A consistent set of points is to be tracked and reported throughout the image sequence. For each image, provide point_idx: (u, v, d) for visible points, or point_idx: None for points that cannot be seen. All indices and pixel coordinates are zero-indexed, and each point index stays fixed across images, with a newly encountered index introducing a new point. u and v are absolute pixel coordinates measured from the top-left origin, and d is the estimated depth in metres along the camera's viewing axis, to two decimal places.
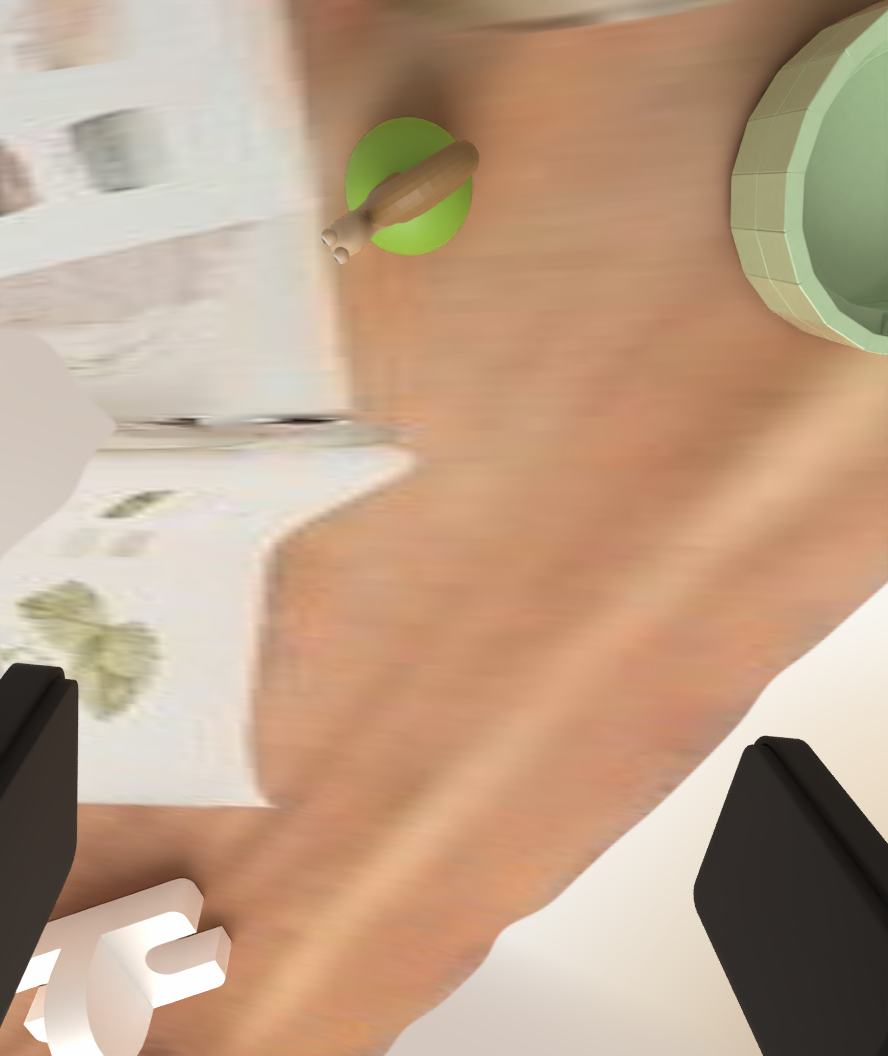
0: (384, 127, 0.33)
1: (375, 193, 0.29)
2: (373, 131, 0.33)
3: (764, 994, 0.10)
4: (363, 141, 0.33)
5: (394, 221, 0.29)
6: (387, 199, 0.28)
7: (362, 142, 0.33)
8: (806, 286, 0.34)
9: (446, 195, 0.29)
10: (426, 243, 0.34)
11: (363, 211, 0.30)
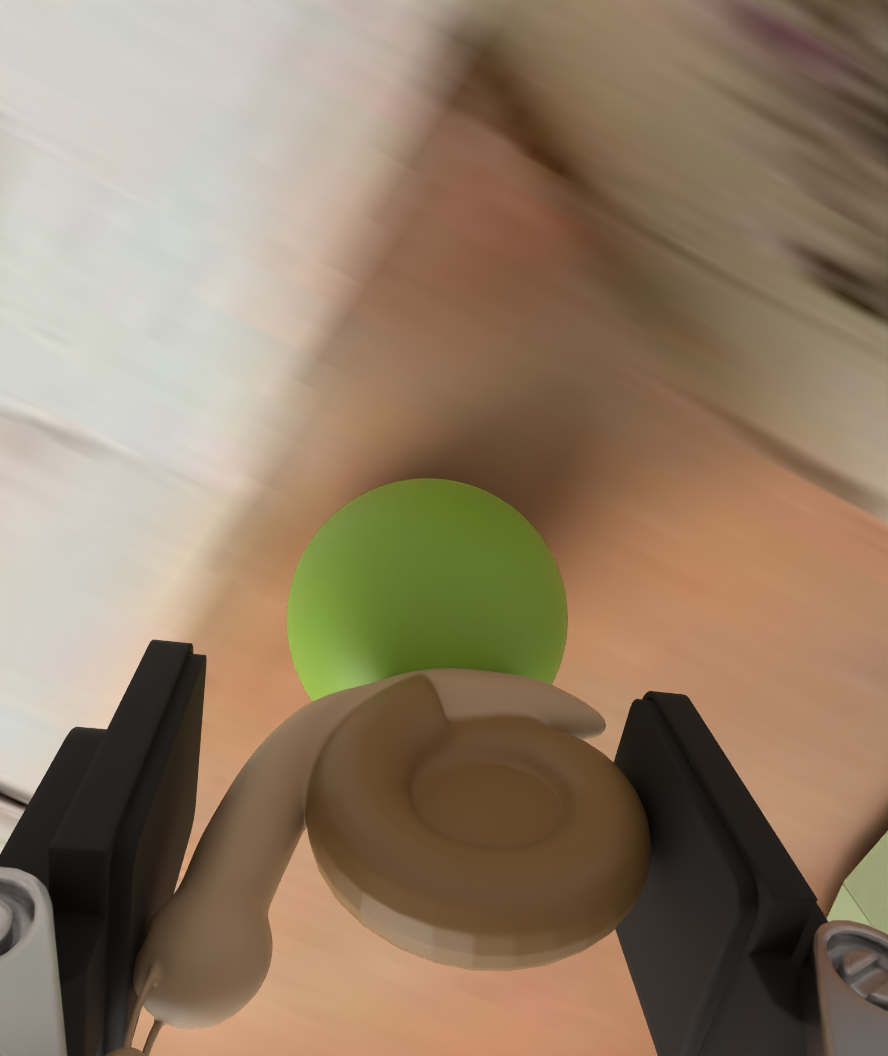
0: (458, 523, 0.14)
1: (356, 834, 0.10)
2: (431, 510, 0.14)
3: (637, 931, 0.11)
4: (399, 515, 0.14)
5: None
6: (378, 902, 0.09)
7: (396, 516, 0.14)
8: None
9: None
10: None
11: (304, 783, 0.11)
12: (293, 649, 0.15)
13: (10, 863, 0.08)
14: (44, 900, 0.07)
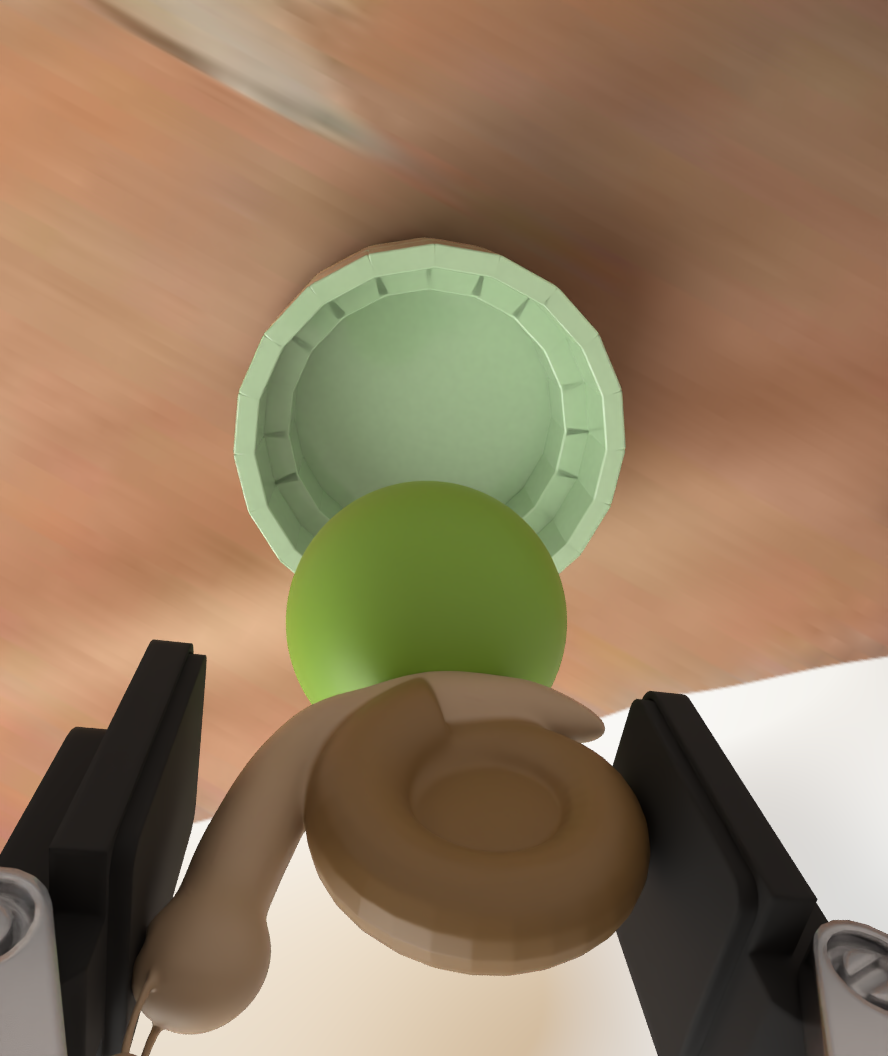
0: (457, 525, 0.14)
1: (355, 838, 0.10)
2: (430, 513, 0.14)
3: (637, 931, 0.11)
4: (398, 518, 0.14)
5: None
6: (376, 906, 0.09)
7: (395, 518, 0.14)
8: (241, 462, 0.30)
9: None
10: None
11: (303, 787, 0.11)
12: (292, 652, 0.15)
13: (10, 863, 0.08)
14: (44, 900, 0.07)
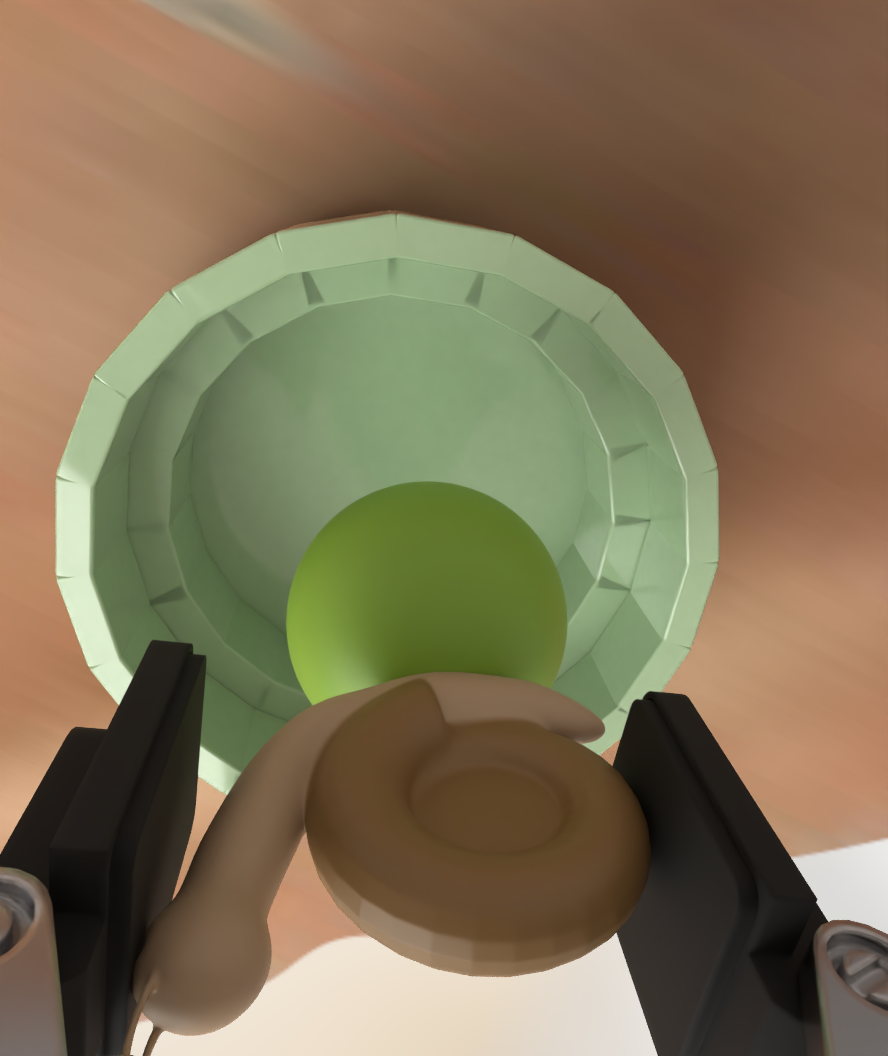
0: (457, 526, 0.14)
1: (355, 839, 0.10)
2: (430, 514, 0.14)
3: (637, 930, 0.11)
4: (399, 519, 0.14)
5: None
6: (376, 908, 0.09)
7: (395, 519, 0.14)
8: (69, 589, 0.17)
9: None
10: None
11: (303, 788, 0.11)
12: (293, 652, 0.15)
13: (10, 863, 0.08)
14: (44, 900, 0.07)
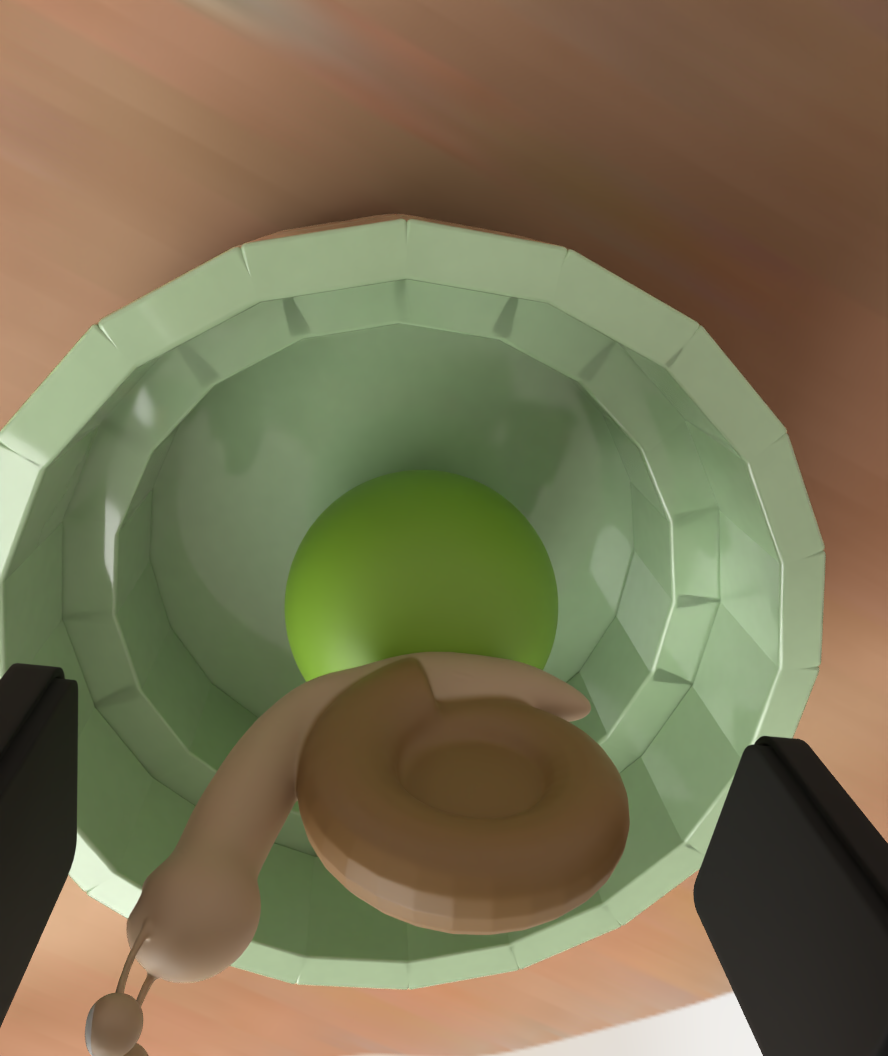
0: (449, 511, 0.14)
1: (343, 803, 0.10)
2: (424, 499, 0.14)
3: (764, 994, 0.10)
4: (393, 504, 0.14)
5: None
6: (362, 867, 0.09)
7: (390, 505, 0.14)
8: None
9: None
10: None
11: (296, 758, 0.11)
12: (290, 634, 0.15)
13: None
14: None
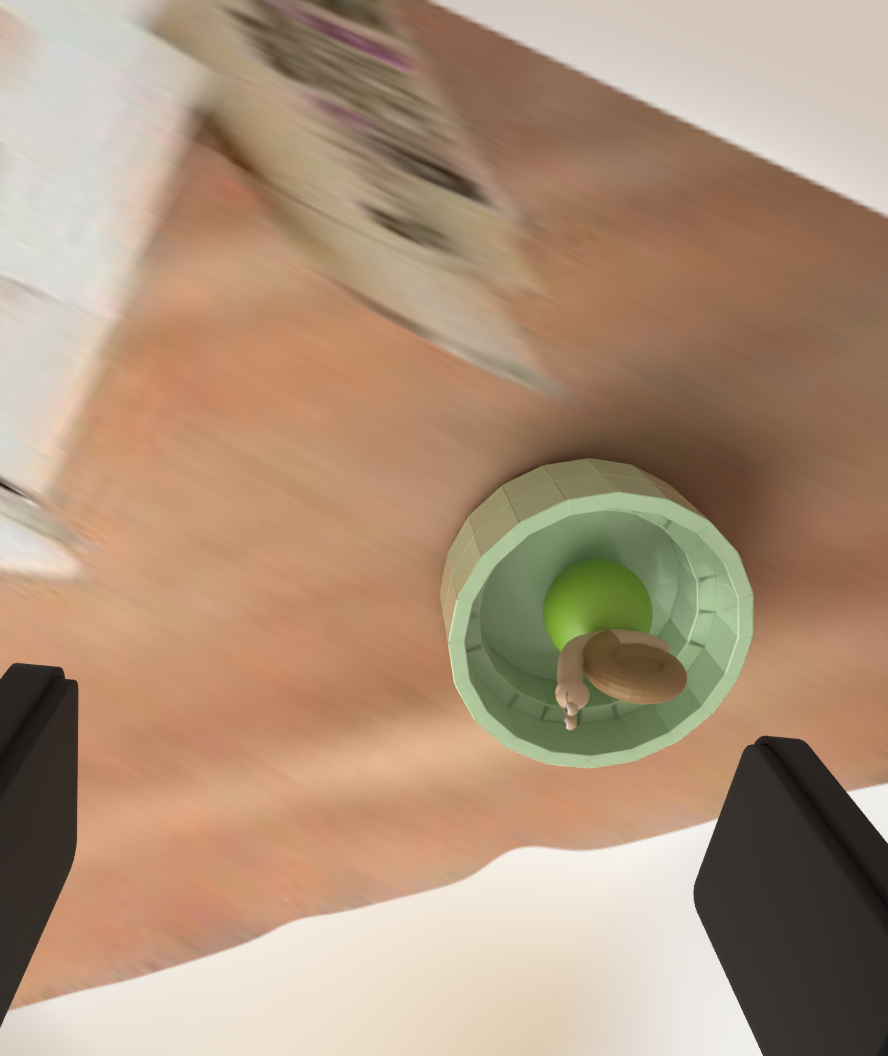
0: (616, 577, 0.39)
1: (605, 668, 0.34)
2: (606, 573, 0.39)
3: (764, 994, 0.10)
4: (594, 574, 0.39)
5: (605, 693, 0.35)
6: (614, 684, 0.34)
7: (593, 574, 0.39)
8: (453, 648, 0.38)
9: None
10: None
11: (582, 659, 0.36)
12: (551, 623, 0.40)
13: None
14: None
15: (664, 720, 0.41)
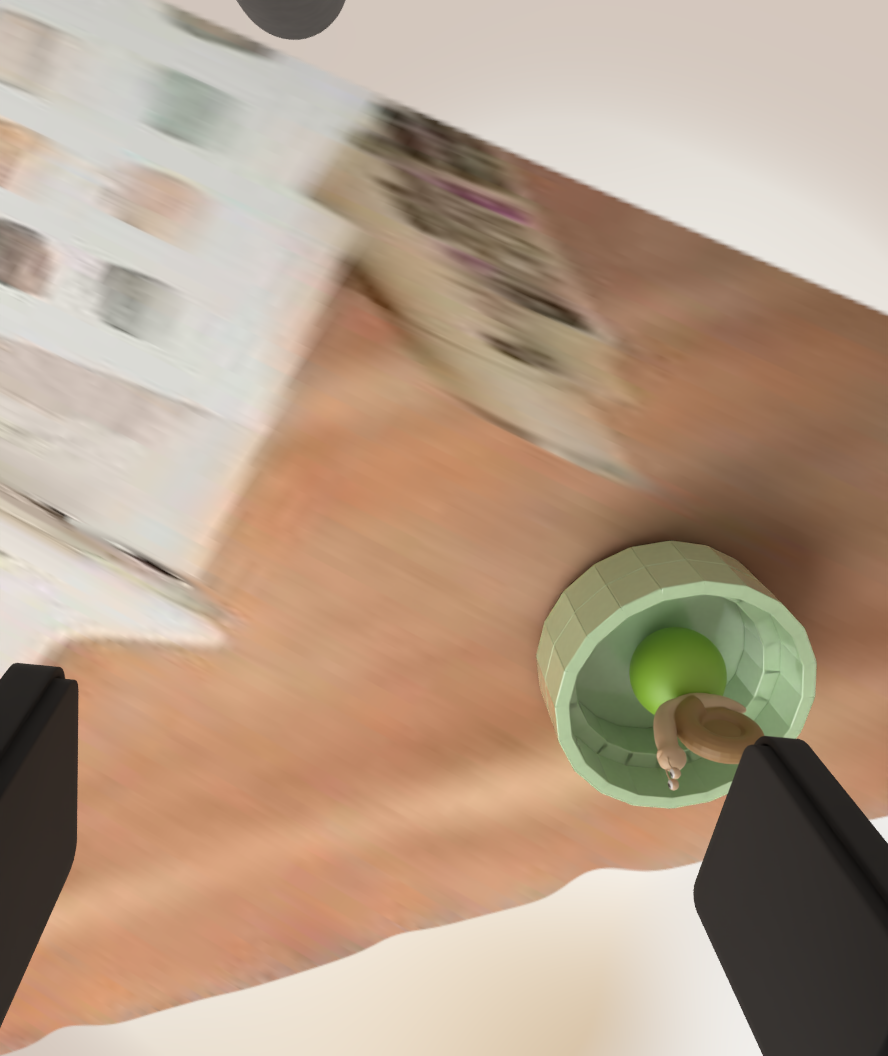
0: (697, 647, 0.45)
1: (697, 733, 0.41)
2: (687, 643, 0.45)
3: (764, 994, 0.10)
4: (678, 644, 0.45)
5: None
6: (706, 748, 0.40)
7: (677, 644, 0.45)
8: (559, 711, 0.44)
9: None
10: None
11: (674, 723, 0.42)
12: (639, 685, 0.46)
13: None
14: None
15: (735, 765, 0.48)
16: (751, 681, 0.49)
